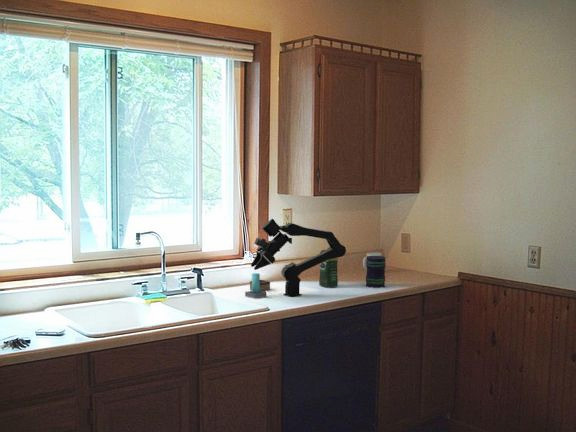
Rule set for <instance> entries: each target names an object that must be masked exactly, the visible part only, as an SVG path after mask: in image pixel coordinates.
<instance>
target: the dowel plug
mask: <svg viewBox="0 0 576 432" xmlns="http://www.w3.org/2000/svg"><path fill="white" fill-rule="evenodd" d="M260 276H261V274H260V273H255V272H254V273H251V281H252V290H251V291H252V293H254V294H256V293H260V280H261V277H260Z"/></svg>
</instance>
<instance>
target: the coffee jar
mask: <svg viewBox="0 0 576 432" xmlns="http://www.w3.org/2000/svg"><path fill="white" fill-rule="evenodd" d="M326 250H327V249H322V250H321V251H320V252H319V254H320V253H322V252H324V251H326ZM338 260H339V257H338V258H334V259H329V260H326V261H324V262H322V263H320V264H319V265H320V266H319V279H318V281H319V282H318V285H319V286H320V287H324V288H335V287H338V286H339V285H338V284H339V279H338Z"/></svg>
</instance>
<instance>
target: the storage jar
mask: <svg viewBox="0 0 576 432" xmlns="http://www.w3.org/2000/svg"><path fill="white" fill-rule="evenodd" d="M365 257H366V258H367V259H366V260H365V266H366V268H367V272H366V275H365V287H367V286H368V287H367V288H371V287H373V289H375V288H376V289H380V288H381V287H382V288H385V287H386V286H385V284H386V275H385V274H386V272H385V270H386V264H387V262H386V257H385V256H382V255H381V256H367V255H366V256H365ZM366 261H367V262H366ZM366 268H365V269H366ZM382 288H381V289H382Z"/></svg>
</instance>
